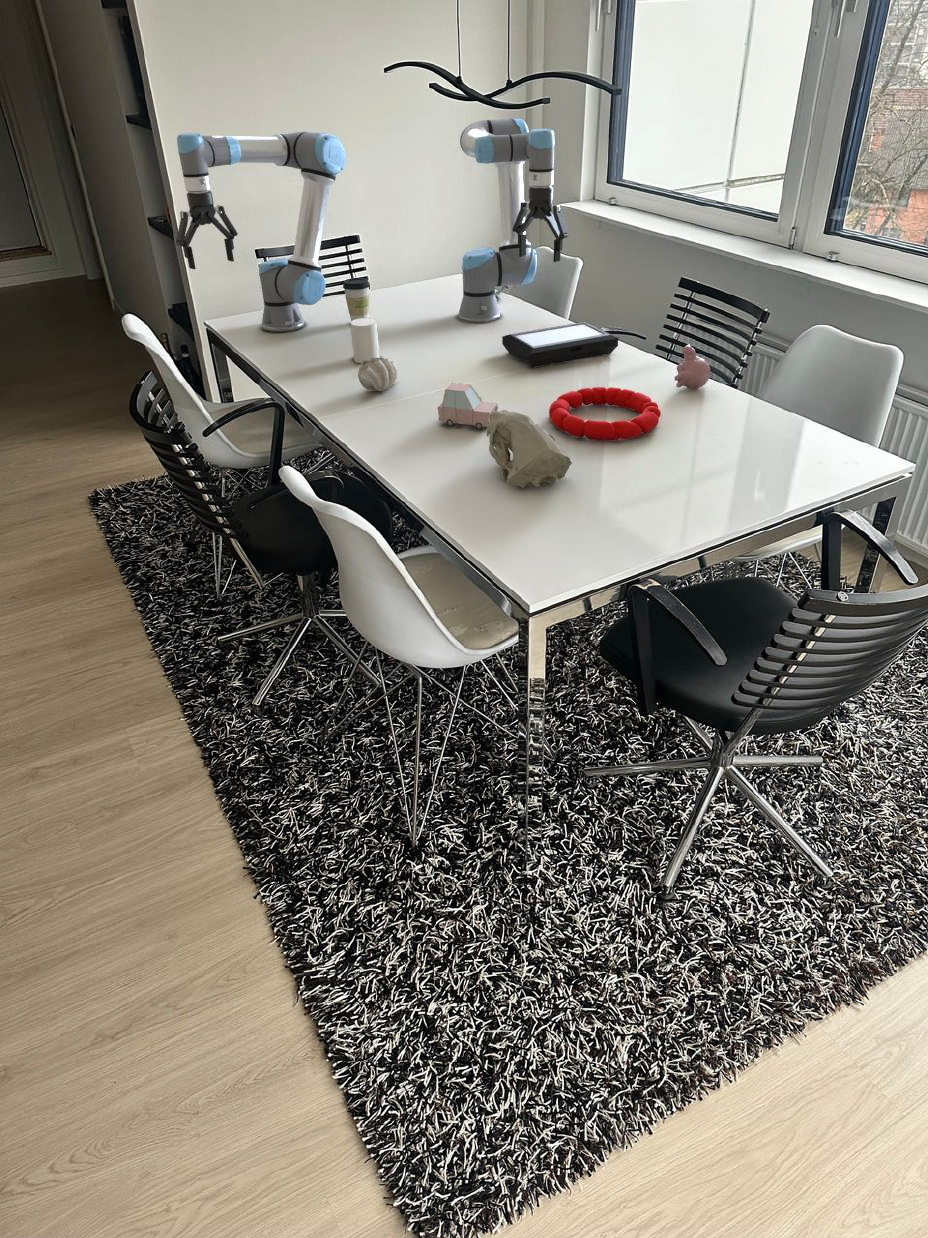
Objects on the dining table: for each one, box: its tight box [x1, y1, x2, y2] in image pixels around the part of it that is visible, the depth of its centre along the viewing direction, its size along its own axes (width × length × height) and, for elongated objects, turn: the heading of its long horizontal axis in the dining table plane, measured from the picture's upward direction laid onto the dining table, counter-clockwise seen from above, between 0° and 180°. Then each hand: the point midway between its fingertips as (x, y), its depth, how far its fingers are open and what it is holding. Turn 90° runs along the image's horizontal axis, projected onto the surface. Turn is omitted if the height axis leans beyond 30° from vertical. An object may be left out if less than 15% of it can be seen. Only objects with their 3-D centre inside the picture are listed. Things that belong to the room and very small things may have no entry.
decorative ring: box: [548, 386, 661, 442], centre depth 242 cm, size 7×30×30 cm
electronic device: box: [501, 321, 619, 369], centre depth 290 cm, size 32×6×20 cm
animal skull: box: [485, 409, 573, 489], centre depth 216 cm, size 17×25×20 cm
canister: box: [350, 317, 381, 364], centre depth 290 cm, size 8×8×12 cm
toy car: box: [437, 382, 499, 431], centre depth 243 cm, size 9×15×10 cm, turn 70°
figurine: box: [674, 344, 711, 390], centre depth 259 cm, size 9×11×12 cm
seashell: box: [357, 357, 398, 392], centre depth 266 cm, size 10×15×10 cm
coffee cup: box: [342, 277, 371, 322], centre depth 323 cm, size 10×10×15 cm
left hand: (211, 264), depth 282 cm, fingers open, 13 cm apart
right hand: (539, 258), depth 287 cm, fingers open, 13 cm apart
